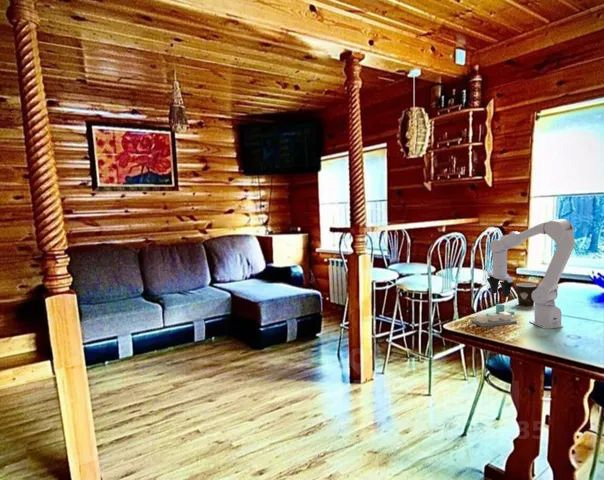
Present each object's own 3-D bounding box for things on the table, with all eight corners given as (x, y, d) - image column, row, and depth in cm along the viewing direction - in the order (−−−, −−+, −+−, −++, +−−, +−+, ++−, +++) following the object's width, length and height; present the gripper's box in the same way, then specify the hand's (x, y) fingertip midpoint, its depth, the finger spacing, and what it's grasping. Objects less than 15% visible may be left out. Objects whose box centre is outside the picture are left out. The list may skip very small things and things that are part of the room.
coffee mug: (512, 304, 196) (512, 284, 195) (524, 301, 199) (524, 282, 198) (533, 309, 185) (533, 288, 184) (546, 307, 188) (546, 286, 187)
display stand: (504, 317, 176) (504, 310, 175) (516, 323, 168) (516, 315, 168) (471, 321, 173) (471, 313, 173) (482, 327, 165) (482, 318, 165)
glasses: (510, 312, 183) (510, 302, 182) (515, 314, 179) (515, 304, 179) (484, 315, 181) (484, 305, 180) (489, 317, 177) (489, 307, 177)
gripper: (519, 267, 171) (519, 297, 172) (497, 262, 185) (497, 290, 187) (504, 268, 170) (504, 299, 171) (483, 263, 184) (484, 292, 186)
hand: (500, 295), depth 179 cm, fingers open, 7 cm apart
